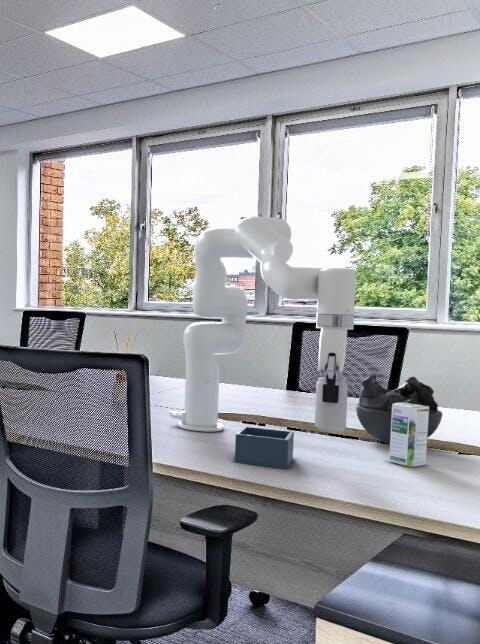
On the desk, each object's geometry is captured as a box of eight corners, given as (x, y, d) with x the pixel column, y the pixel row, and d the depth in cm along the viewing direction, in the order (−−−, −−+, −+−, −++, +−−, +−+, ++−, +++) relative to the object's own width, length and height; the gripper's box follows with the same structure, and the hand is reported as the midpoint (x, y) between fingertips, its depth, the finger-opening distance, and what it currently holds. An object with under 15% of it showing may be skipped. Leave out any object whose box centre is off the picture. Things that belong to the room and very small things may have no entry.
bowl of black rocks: (459, 451, 183) (463, 380, 182) (399, 455, 177) (403, 381, 176) (392, 435, 202) (396, 371, 201) (337, 438, 196) (340, 372, 195)
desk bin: (234, 462, 168) (235, 434, 167) (242, 452, 177) (243, 426, 177) (287, 469, 162) (288, 440, 161) (292, 458, 172) (293, 431, 171)
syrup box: (387, 461, 170) (390, 403, 169) (403, 459, 173) (406, 401, 172) (410, 467, 165) (413, 406, 164) (427, 465, 167) (430, 405, 167)
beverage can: (349, 433, 156) (352, 380, 156) (318, 432, 158) (321, 379, 157) (340, 428, 163) (342, 377, 162) (310, 426, 164) (313, 375, 163)
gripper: (319, 320, 168) (316, 394, 169) (313, 323, 153) (309, 403, 154) (354, 321, 164) (351, 397, 165) (352, 324, 149) (348, 407, 150)
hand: (331, 399), depth 160 cm, fingers closed on beverage can, 6 cm apart
